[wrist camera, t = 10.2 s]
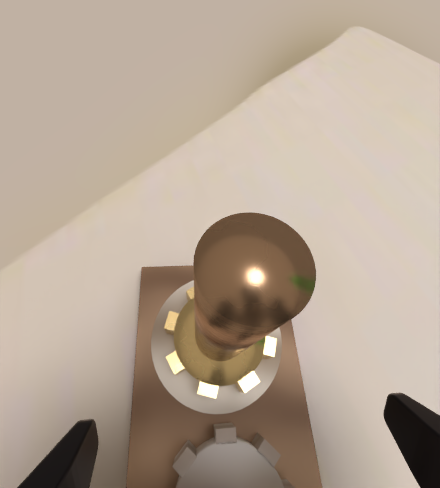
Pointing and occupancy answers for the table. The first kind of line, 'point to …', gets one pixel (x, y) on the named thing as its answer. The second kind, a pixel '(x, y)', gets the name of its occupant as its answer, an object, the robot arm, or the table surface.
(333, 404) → the table surface
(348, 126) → the table surface
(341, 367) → the table surface
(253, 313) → the brass gear
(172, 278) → the gear board
